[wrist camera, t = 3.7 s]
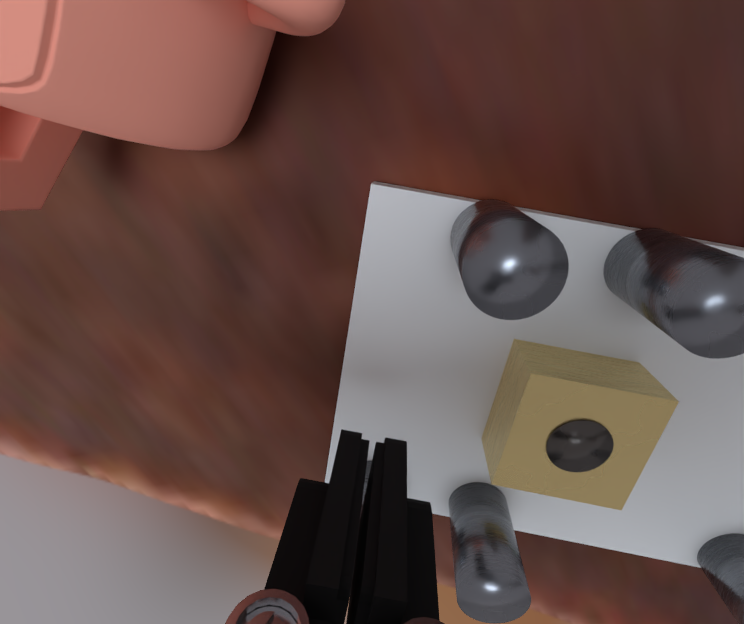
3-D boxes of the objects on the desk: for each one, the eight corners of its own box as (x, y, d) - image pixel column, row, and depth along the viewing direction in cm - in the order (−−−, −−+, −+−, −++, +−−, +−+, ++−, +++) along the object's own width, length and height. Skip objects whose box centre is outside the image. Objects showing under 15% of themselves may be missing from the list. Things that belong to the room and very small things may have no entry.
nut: (639, 362, 15) (680, 402, 12) (593, 460, 16) (622, 512, 14) (513, 338, 15) (531, 374, 12) (481, 438, 16) (491, 486, 14)
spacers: (964, 283, 13) (1190, 341, 9) (743, 580, 18) (829, 694, 14) (397, 181, 13) (389, 196, 10) (340, 498, 18) (321, 588, 15)
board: (1172, 324, 13) (1228, 337, 13) (909, 591, 18) (935, 615, 18) (374, 180, 14) (371, 183, 13) (327, 474, 19) (323, 491, 18)
